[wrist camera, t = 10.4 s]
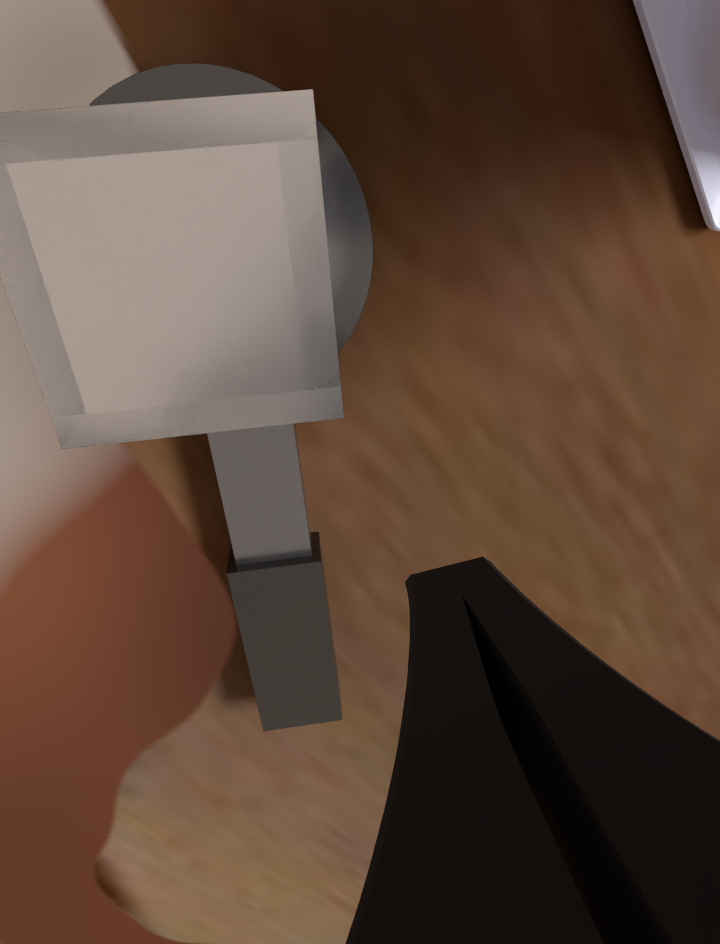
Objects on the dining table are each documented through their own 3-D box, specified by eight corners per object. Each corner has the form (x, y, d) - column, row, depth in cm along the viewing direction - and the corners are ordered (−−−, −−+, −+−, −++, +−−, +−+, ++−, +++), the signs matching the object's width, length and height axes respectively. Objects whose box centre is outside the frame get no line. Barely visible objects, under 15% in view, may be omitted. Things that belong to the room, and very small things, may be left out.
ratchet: (28, 88, 14) (-89, 53, 10) (352, 64, 15) (379, 19, 10) (208, 703, 25) (191, 819, 20) (393, 676, 25) (416, 785, 21)
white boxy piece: (303, 120, 13) (312, 89, 8) (325, 333, 16) (343, 418, 10) (83, 137, 13) (-57, 116, 8) (139, 353, 15) (61, 449, 10)
